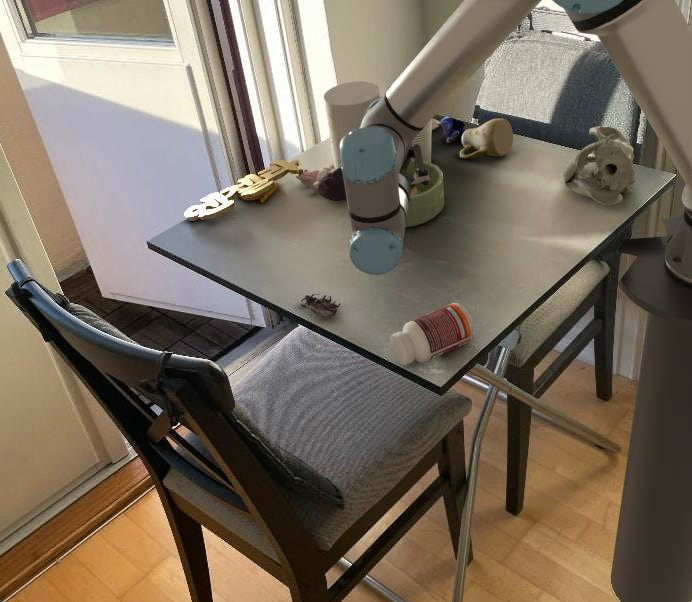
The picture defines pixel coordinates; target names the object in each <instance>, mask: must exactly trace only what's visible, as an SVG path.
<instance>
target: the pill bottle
mask: <svg viewBox="0 0 692 602" xmlns="http://www.w3.org/2000/svg"><path fill="white" fill-rule="evenodd" d="M473 322H474V321H473V320H472V317H471V315H470V313H469V312H468V309H466V307H464V306H463V305H462V304H460V303H459V302H458V303H457V302H452V303H449V304H447V305H445V306H442V307H439V308H437V309H435V310H434V311H431V312H428V313H425V314H424V315H421V316H420V317H417V318H415V319H412V320H410V321H408V322H406V323H405V324H404V326H403V328H402V331H397V332H395V333H393V334H391V335H390V337H389V344H390V348H391V350H392V354H393V355H394V357H395V359H396V360H397V362H398V363H399V364H400V365H402V366H407V365H410V364H412V363H413V362H414V361H416V362H419V363H426V362H428V361H431V360H432V359H436V358H437V357H439V356H442V355H444V354H447V353H448V352H451V351H453V350H456V349H457V348H460V347H463V346H464V345H467V344H468V343H470V342H472V341H473V339H474V336H475V326H474V323H473Z"/></svg>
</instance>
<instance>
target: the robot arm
mask: <svg viewBox="0 0 692 602" xmlns="http://www.w3.org/2000/svg"><path fill="white" fill-rule="evenodd" d="M542 1H543V0H463V1H462V2H461V3H460V5H458V7H457V8H456V9H455V10H454V11H453V12H452V14H451V15H450V16H449V17H448V18H447V20H446V21H445V22H444V23H443V25H442V26H441V27H440V28H439V29H438V31H436V33H435V34H434V35H433V36H432V37H431V39H430V40H429V41H428V42H427V44H426V45H424V46H423V48H422V49H421V50H420V51H419V53H418V54H417V55H416V56H415V57H414V59H413V60H412V61H410V63H409V64H408V66H407V67H406V68H405V69H404V70H403V71H402V73H401V74H400V75H399V76H398V78H396V80H395V81H394V82H393V84H391V85H392V86H391V85H390V86H391V87H390V86H389V87H390V88H389V87H388V88H389V90H388V91H387V90H386V92H385V93H384V94H383V95H382V96H380V98H378V99H376V100H375V101H374V102H373V103H372V104H371V105H370V107H369V108H368V109H367V111H366V112H365V114H364V116H363V119H362V122H361V126H360V128H359V129H356V130H353V131H351V132H350V133H349V135H346V136H344V137H343V139H342V140H341V143H340V156H341V160H340V167H341V168H342V169H341V170H342V172H343V178H344V184H345V191H346V197H347V200H346V202H347V207H348V218H349V223H350V230H351V231H350V232H351V237H350V239H349V242H348V244H349V245H348V246H349V250H348V251H349V252H348V253H349V258H350V261H351V263H352V265H353V266H354V267H355V268H356V269H357V270H358V271H360V272H362V273H365V274H367V275H370V276H379V275H380V276H381V275H386V274H388V273H390V272H392V271H393V270H394V269H395V268H397V266H398V264H399V262H400V260H401V257H402V253H403V251H404V239H405V232H406V227H405V224H406V218H407V212H408V206H409V200H410V193H411V190H412V189H413V188H414V187H415V184H417V183H421V184H422V185H429V183H430V182H429V170H428V168H427V167H426V166H424V163H423V158H422V152H421V147H420V145H418V144H417V145H414V146H413V147H412V140H413V139H414V138H415V137H416V136H417V135H418V134H419V133H420V132H421V130H422V129H423V128H424V127H425V126H426V125H427V124H428V122H429V121H430V120H431V119H432V118H434V117H435V116H436V115H437V114H438V113H439V112H440V110H442V109H443V108H444V106H445V105H446V104H447V103H448V102H449V101H450V100H451V99H452V98H453V97H454V96H455V94H457V92H459V90H460V89H461V88H462V87H463V86H464V85H465V84H466V83H467V82H468V81H469V80H470V78H471V77H472V76H474V74H475V73H476V72H477V71H478V70H479V69H480V68H481V66H482V65H484V63H486V61H487V60H488V59H489V58H490V57H491V56H492V55H493V54H494V53H495V51H497V50H498V48H500V46H501V45H502V44H503V43H504V42H505V41H506V40H507V38H509V37H510V35H511V34H513V32H514V31H515V30H516V29H517V28H518V27H519V26H520V25H521V24H522V22H523V21H525V19H526V18H527V17H528V16H529V15H530V14H531V13H532V12H533V11H534V9H535V8H537V6H538V5H539V4H540V3H542ZM551 1H552V2H553V3H554V4H555V5H557V6H559V7H560V8H562V9H563V10H564V12H565V14H566V15H567V17H568V18H569V20H570V22H571V23H572V25H573V27H574V28H575V29H576V31H577V33H580V34H585V35H594V36H596V37H597V38H598V40H599V41H600V43H601V45H602V46H603V49H605V51H606V53H607V55H608V56H609V58H610V60H611V61H612V63H613V65H614V66H615V68H616V70H617V71H618V73H619V75H620V77H621V78H622V80H623V81H624V83H625V84H626V86H627V88H628V90H629V91H630V93H631V95H632V96H633V99H634V100H635V101H636V104H637V105H638V106H639V108H640V110H641V112H642V113H643V115H644V117H645V118H646V120H647V121H648V123H649V124H650V126H651V128H652V130H653V131H654V133H655V135H656V136H657V138H658V140H659V141H660V143H661V145H662V146H663V148H664V150H665V151H666V154H667V155H668V156H669V158H670V160H671V162H672V163H673V165H674V166H675V168H676V170H677V171H678V173H679V175H680V176H681V178H682V180H683V181H684V183H685V184H684V185H685V186H684V187H683V190H682V193H681V202H682V204H683V206H684V209H683V210H684V211H683V215H684V216H683V219H682V221H681V222H680V224H679V226H678V228H677V229H676V231H675V233H674V234H673V235H672V236H671V237H670V238H669V239H668V241H667V242H666V244H667V243H668V242H669V243H668V245H667V248H666V250H665V257H664V266H665V269H666V271H667V272H668V273H669V275H670V276H671V277H672V278H674V279H675V280H676V281H678V282H679V283H681V284H683V285H685V286H687V287H690V288H692V29H691V27H690V26H689V23H688V22H687V20H686V18H685V16H684V14H683V13H682V11H681V8H680V7H679V5H678V3H677V1H676V0H551ZM411 158H414V161H415V167H416V172H415V173H414V176H412V175H411V174H410V173H408V172H407V168H408V166H409V163H410V161H411ZM666 244H665V245H666Z"/></svg>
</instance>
